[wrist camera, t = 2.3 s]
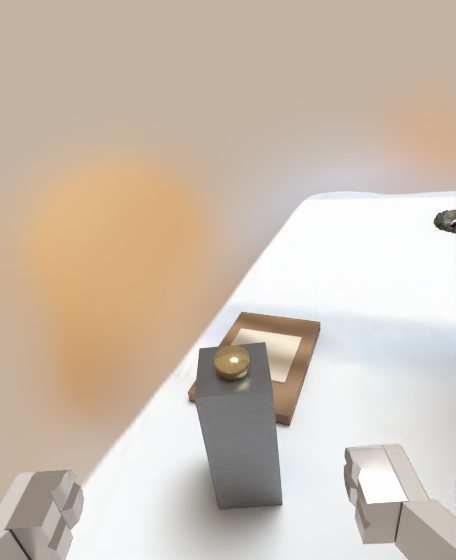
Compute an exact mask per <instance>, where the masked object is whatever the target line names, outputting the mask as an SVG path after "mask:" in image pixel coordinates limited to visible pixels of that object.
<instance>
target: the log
mask: <svg viewBox="0 0 456 560" xmlns="http://www.w3.org/2000/svg"><path fill="white" fill-rule="evenodd" d="M434 224H435V225H436V227H438V228H439V229H440V230H445V231H447V232H452V233H455V234H456V210H451V211H447V210H446V211H443V212H442V213H438V215H437V216H436V218H435V220H434Z"/></svg>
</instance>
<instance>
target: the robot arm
mask: <svg viewBox="0 0 456 560" xmlns="http://www.w3.org/2000/svg"><path fill="white" fill-rule="evenodd" d="M345 459H346V462H347V464H346V465H345V466H344V479H345V486H346V490H347V494H348V497H349V501H350V502H351V503H352V504H353V505H354V506H355V507H356V510H355V520H356V523H357V526H358V529H359V533H360V536H361V539H362V542H363V544H380V543H395V545H396V546H397V547H398V549H399V550H400V551H401V552H402V553H403V554H404V555H405V556H406V558H407V559H408V560H456V516H455V515H453V514H452V513H451V512H450V511H448V510H447V509H446V508H445V507H444V506H442V505H441V504H440V503H439V502H437V501H436V500H429V498H428V496H427V494H426V492H425V490H424V488H423V486H422V484H421V482H420V480H419V478H418V476H417V475H416V473H415V471H414V469H413V467H412V465H411V463H410V461H409V459H408V457H407V455H406V453H405V451H404V449H403V447H402V446H401V445H400V444H389V445H371V446H361V447H350V448H346V449H345ZM75 478H76V476H75V474H74V472H73V471H72V470H62V471H46V472H29V473H20V474H19V475H18V476H17V477H16V478H15V479H14V481H13V483H12V484H11V486H10V488H9V490H8V492H7V493H6V495H5V497H4V499H3V501H2V502H1V504H0V560H65V559H66V556H67V553H68V551H69V548H70V545H71V542H72V539H73V536H72V532H71V529H72V528H73V527H74V526H75V525H76V524H77V523H78V521H79V519H80V516H81V513H82V509H83V501H84V497H83V491H82V489H81V487H80V486H79V485H77V484H76V483H74V481H75Z"/></svg>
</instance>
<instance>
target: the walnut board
mask: <svg viewBox="0 0 456 560" xmlns="http://www.w3.org/2000/svg"><path fill="white" fill-rule="evenodd" d="M319 332H320V322H316V321H309V320H301V319H293V318H285V317H278V316H270V315H262V314H254V313H246V312H241V314H240V315H239V317H238V318H237V320H236V321H235V323H234V324H233V326H232V327H231V329H230V330H229V332H228V333H227V335H226V336H225V338H224V339H223V341H222V342H221V344H220V345H219V346H218V347H220V346H230V345H241V344H251V343H261V342H265V343H266V349H267V356H268V362H269V368H270V374H271V381H272V387H273V395H274V407H275V419H276V422H278V423H282V424H286V425H290V422H291V419H292V416H293V413H294V410H295V407H296V404H297V400H298V397H299V394H300V391H301V388H302V385H303V382H304V379H305V376H306V372H307V369H308V366H309V363H310V360H311V357H312V354H313V351H314V347H315V344H316V341H317V338H318V335H319ZM195 388H196V381H195V382H194V384H193V385H192V387H191V388H190V390H189V391H188V395H189V399H190V401H194V402H195Z"/></svg>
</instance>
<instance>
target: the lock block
mask: <svg viewBox="0 0 456 560" xmlns="http://www.w3.org/2000/svg"><path fill="white" fill-rule="evenodd" d="M195 403H196V407H197V412H198V416H199V421H200V425H201V430H202V434H203V439H204V443H205V448H206V452H207V457H208V461H209V466H210V470H211V475H212V479H213V484H214V488H215V493H216V497H217V502H218V506H219V509H230V508H243V507H256V506H269V505H282V504H283V503H282V491H281V479H280V467H279V455H278V443H277V431H276V419H275V407H274V395H273V387H272V381H271V374H270V368H269V362H268V356H267V349H266V343H265V342H261V343H251V344H241V345H230V346H220V347H210V348H200V350H199V359H198V369H197V379H196V388H195Z"/></svg>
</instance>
